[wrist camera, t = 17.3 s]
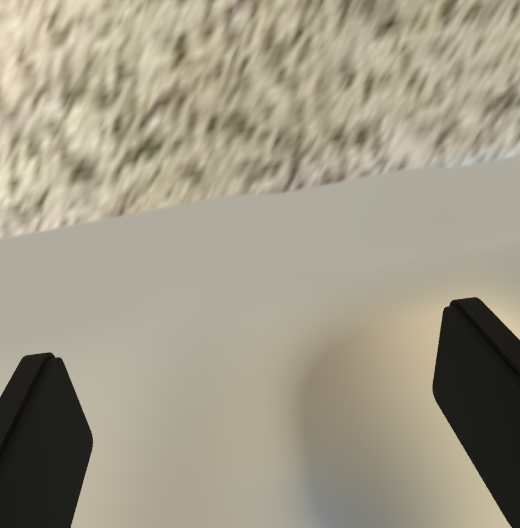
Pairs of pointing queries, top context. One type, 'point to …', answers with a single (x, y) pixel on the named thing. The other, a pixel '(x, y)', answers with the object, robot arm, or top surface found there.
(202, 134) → the top surface
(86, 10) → the top surface
